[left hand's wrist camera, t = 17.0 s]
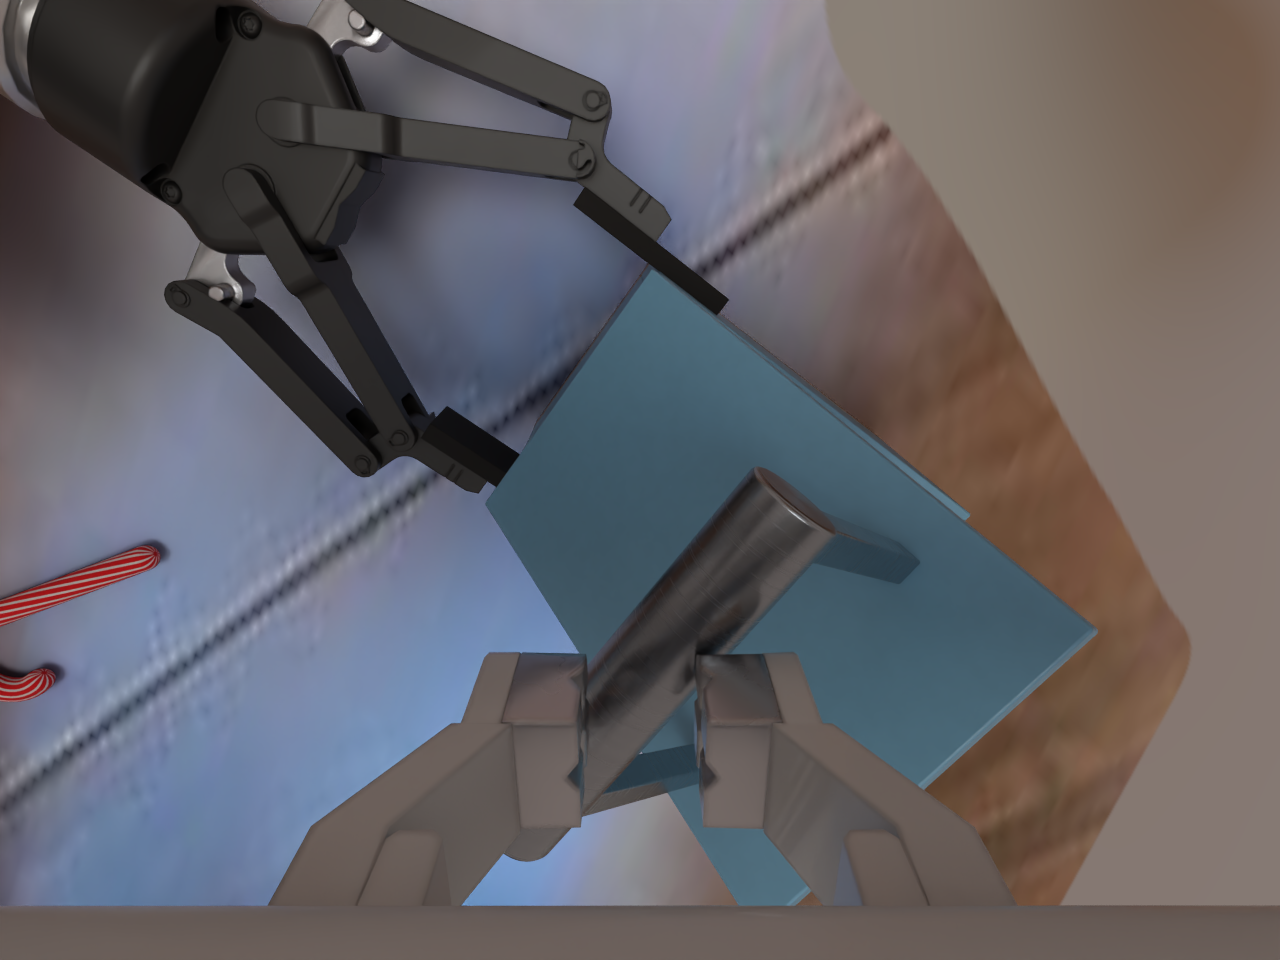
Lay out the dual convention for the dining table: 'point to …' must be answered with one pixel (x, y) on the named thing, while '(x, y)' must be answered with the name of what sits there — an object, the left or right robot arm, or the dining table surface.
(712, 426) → the lid
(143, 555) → the candy cane
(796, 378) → the chest
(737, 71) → the dining table surface
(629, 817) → the dining table surface
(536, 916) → the left robot arm
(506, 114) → the dining table surface
